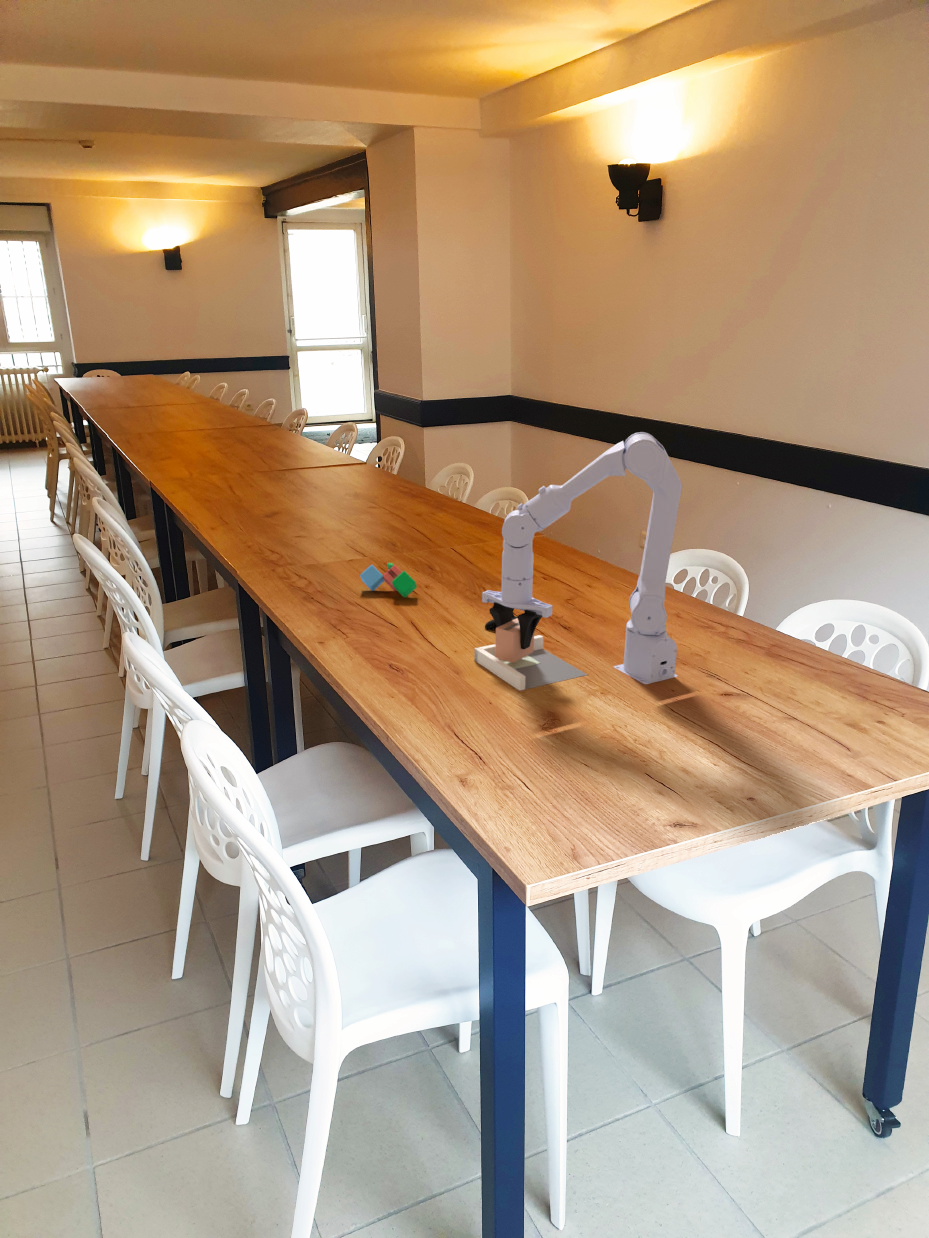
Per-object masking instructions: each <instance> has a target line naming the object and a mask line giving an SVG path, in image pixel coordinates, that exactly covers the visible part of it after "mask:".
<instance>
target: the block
mask: <svg viewBox="0 0 929 1238" xmlns="http://www.w3.org/2000/svg"><path fill="white" fill-rule="evenodd" d="M520 636H521V633H520V625H519V621H518V618H516V619H514V620H512V621H510V622H508V623H506V624H503V625H501V626H499V627H497V628H496V629H495V644H496V646H495V657H496V658H498V659H501V660H504V661H508V662H511V663H514V662H516V661H517V660H519V659H521V658H523V657H525V656H527V655H529V654H531V653H533V650H534V636H535V632H534V633H533V636H532V640H531V643H530V647H528V648H526V649H521V644H520Z"/></svg>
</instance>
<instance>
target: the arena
mask: <svg viewBox="0 0 929 1238" xmlns="http://www.w3.org/2000/svg"><path fill="white" fill-rule="evenodd" d="M495 646H496V643H495V644H489V645H483V646H480V647H474V657H473V659H474V661H475V662H476V663H478V664H479V665H480V666H482V667H483V668H485V669H486V670H487V671H488V672H491V673H492V674H494V675H495V676H496V677H498V678H500V679H501V680H502V681H504V682H505V683H507V685H510V686H511V687H513V688H514V689H516V690H517V691H518V692H520V691H525V690H529V689H534V688H537V687H542V686H546V685H549V684H555V683H558V682H563V681H568V680H572V679H576V678H581V677H585V676H588V674H587V673H586V672H584V671H582V670H580V668H577V667H576V666H574V665H572V664H570V663H569V662H567V661H565V660H564V659H562V658H560V657H558V656H556V655H555V654H553V653H551V652H549V651H548V650H546V649H544V636H543V635H540V634H538V635H534V650H533V653H531V654H529V655H527V656H525V657H523V658H521V659H519V660H517V661H516V662H514V663H511V662H508V661H504V660H501V659H498V658H496V657H495Z"/></svg>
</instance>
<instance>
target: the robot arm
mask: <svg viewBox="0 0 929 1238" xmlns="http://www.w3.org/2000/svg"><path fill="white" fill-rule="evenodd" d="M626 470H627V471H629V472H630V473H631V474H632V475H634V476H635V477H637V478H639V479H641V480H642V481H644V482H645V484H646V485H647V486H648V487H649V488H650V489H651V491H652V499H651V506H650V511H649V516H648V517H649V518H648V522H647V529H646V530H647V531H646V535H645V541H644V548H643V554H642V559H641V565H640V573H639V575H638V578H637V584H636V587H635V589H634V590H633V591H632V593H631V594H630V596H629V599H628V606H629V609H630V613H631V614H630V619H629V620H628V621H627V622H626V626H625V638H624V639H625V640H624V641H625V643H624V652H623V653H624V655H623V656H624V657H623V663H622V664H616V665H613V668H615V669H616V670H617V671H620V672H622V673H624V674H625V675H627V676H629V677H631V678H633V679H634V680H636V681H638V682H640V683H641V684H644V685H649V684H653V683H656V682H661V681H665V680H669V679H673V678H677V677H678V674H676V663H677V655H678V653H677V652H678V651H677V650H678V646H677V643H676V641H675V640H674V639H673V638H671V637H670V636H669V634H668V632H667V624H666V623H667V620H668V615H667V611H666V608H665V600H666V583H667V581H666V580H667V575H668V569H669V565H670V559H671V553H672V546H673V541H674V536H675V532H676V531H675V530H676V525H677V524H676V523H677V517H678V512H679V507H680V500H681V495H682V489H683V484H682V481H681V478H680V476H679V475H678V472H677V471H676V468H675V467H674V465H673V462H672V460H671V458H670V457H669V455H668V453H667V450H666V449H665V447H664V446H663V444H661V443H660V442H659V441H658V439H656V437H654V436H653V435H652V434H650V433H648V432H644V431H640V432H635V433H632V434H631V435H630V436H628V437H627V438H626V439H625V441H624V440H622V441H620V442H618V443H616V444H615V445H613V446H611V447H609V448H608V449H607V450H606V451H605V452H603V453H602V454H600V455H599V456H597V457H596V458H595V459H594V460H592V461H591V462H590V463H589V464H588V465H587V466H585V467H584V468H582V469H581V470H580V471H579V472H578V473H576V474H575V475H573V476H572V477H571V478H570V479H569V480H567V481H566V482H564V483H563V484H561V485H557V484H550V485H549V486H547V487H546V486H545V485H543V486H541V487H540V488H539V489H538V494H536V495H535V496H534V497H532V498H531V499H530V500H529V499H528V501H527V502H525V503H524V504H523V502H521V503H520V504H518V505H517V507H516V508H517V509H516V510H515V509H514V510H512V511H510V512H509V513H508V514H507V515H506V517H505V518H504V522H503V524H502V527H501V535H502V539H503V542H502V548H503V551H502V554H501V590H500V591H494V590H490V589H488V590H485V591H483V592H482V593H481V595H482V596H481V603H484V604H488V603H491V604H493V605H492V607H491V608H489V614H490V615H491V618H492V620H493V619H494V621H495V623H496V626H497V627H499V626H501V625H503V624H506V623H508V622H510V621H512V615H513V613H514V611H515V610H519V611H521V613H520V614H518V615H517V616H516V617H517V618H518V621H519V625H520V633H521V636H520V644H521V649H526V648H528V647H530V643H531V640H532V636H533V633H534V634H535V631H536V628H537V626H538V624H539V622H540V621H541V619H542V618H544V619H545V618H546V619H548V618H549V617H552V616H553V604H548V603H546V602H543V601H541V600H539V599H536V598H535V597H533V579H534V578H533V577H534V551H533V540H534V537H535V534H536V533H538V532H542V531H543V530H545V529H546V528H548V527H549V526H551V525H552V524H554V523H555V522H556V521H558V520H559V519H560V518H562V517H563V516H564V515H566V514H568V512H570V511H571V506H572V505H571V504H572V501H574V499H576V498H578V497H579V496H581V495H583V494H584V493H585V492H587V491H589V490H590V489H591V488H593V487H595V486H596V485H597V484H599V483H601V482H602V481H603V480H605V479H606V478H608V477H626V476H627V473H626ZM522 611H523V613H522Z"/></svg>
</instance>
